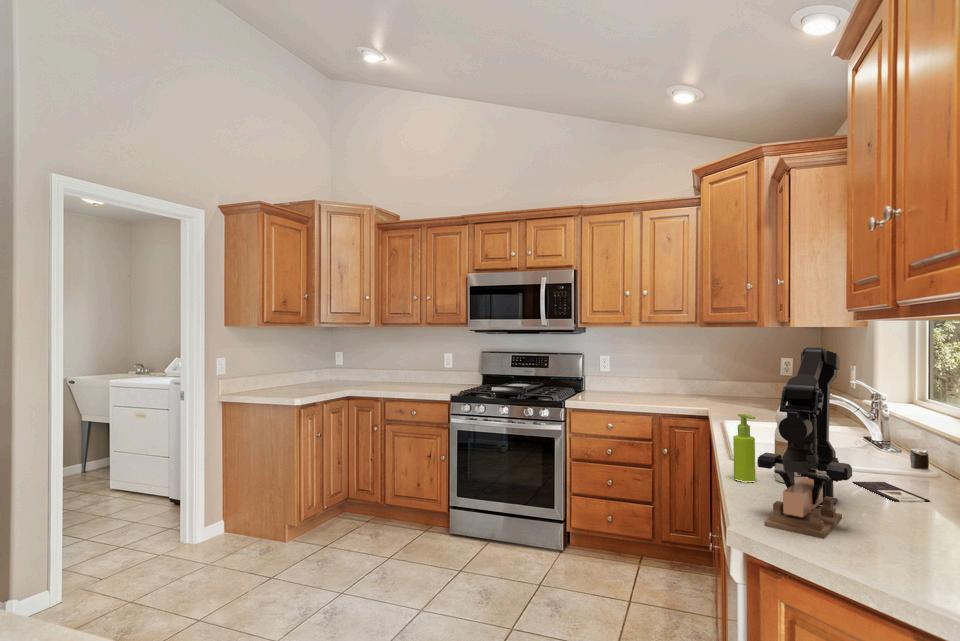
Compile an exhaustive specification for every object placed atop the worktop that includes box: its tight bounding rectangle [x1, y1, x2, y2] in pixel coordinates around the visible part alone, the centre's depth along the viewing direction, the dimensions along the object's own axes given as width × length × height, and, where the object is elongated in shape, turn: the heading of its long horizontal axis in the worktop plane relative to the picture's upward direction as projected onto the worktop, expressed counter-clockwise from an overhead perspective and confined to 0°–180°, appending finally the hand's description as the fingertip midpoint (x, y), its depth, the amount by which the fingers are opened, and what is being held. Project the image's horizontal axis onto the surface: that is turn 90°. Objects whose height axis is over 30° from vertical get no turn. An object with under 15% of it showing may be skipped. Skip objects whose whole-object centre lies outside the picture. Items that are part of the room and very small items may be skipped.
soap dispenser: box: [732, 413, 756, 482], centre depth 166 cm, size 6×7×20 cm
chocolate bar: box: [852, 481, 931, 503], centre depth 154 cm, size 9×1×18 cm
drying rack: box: [763, 496, 843, 539], centre depth 130 cm, size 18×12×5 cm, turn 136°
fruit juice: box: [773, 402, 808, 484], centre depth 165 cm, size 9×9×28 cm
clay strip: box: [782, 478, 823, 517], centre depth 130 cm, size 16×4×5 cm, turn 134°
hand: (803, 502), depth 130 cm, fingers closed on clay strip, 4 cm apart
